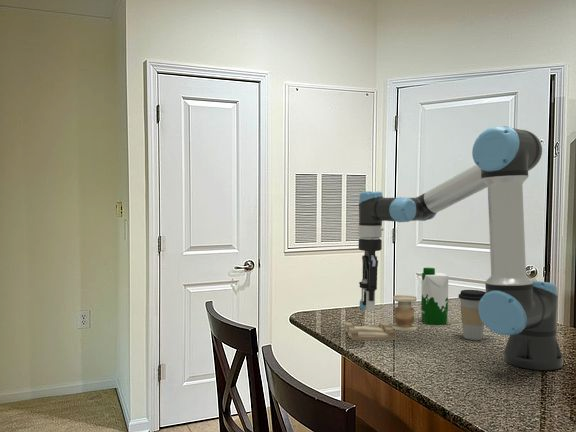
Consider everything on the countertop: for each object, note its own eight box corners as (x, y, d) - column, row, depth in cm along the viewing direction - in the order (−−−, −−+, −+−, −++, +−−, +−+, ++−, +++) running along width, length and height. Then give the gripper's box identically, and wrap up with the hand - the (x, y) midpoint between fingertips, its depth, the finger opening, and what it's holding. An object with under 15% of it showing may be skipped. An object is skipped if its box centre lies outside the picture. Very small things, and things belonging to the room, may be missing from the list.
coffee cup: (490, 342, 173) (491, 294, 173) (459, 340, 175) (459, 293, 175) (485, 334, 183) (486, 289, 182) (456, 333, 184) (456, 288, 184)
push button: (378, 308, 184) (379, 278, 183) (379, 312, 178) (379, 281, 178) (358, 307, 185) (359, 278, 184) (358, 311, 179) (358, 280, 179)
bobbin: (420, 331, 186) (421, 299, 186) (394, 331, 186) (395, 299, 185) (413, 325, 195) (413, 294, 195) (388, 325, 195) (388, 294, 194)
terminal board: (395, 340, 175) (395, 331, 175) (351, 340, 174) (351, 332, 174) (384, 329, 189) (385, 321, 189) (344, 329, 188) (344, 322, 188)
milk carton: (419, 320, 203) (419, 266, 202) (443, 320, 203) (444, 266, 202) (424, 326, 194) (425, 269, 194) (450, 326, 194) (451, 270, 193)
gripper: (387, 240, 173) (386, 314, 174) (375, 236, 189) (374, 304, 190) (363, 240, 172) (362, 314, 173) (354, 236, 189) (353, 304, 189)
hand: (369, 309), depth 182 cm, fingers closed on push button, 3 cm apart
